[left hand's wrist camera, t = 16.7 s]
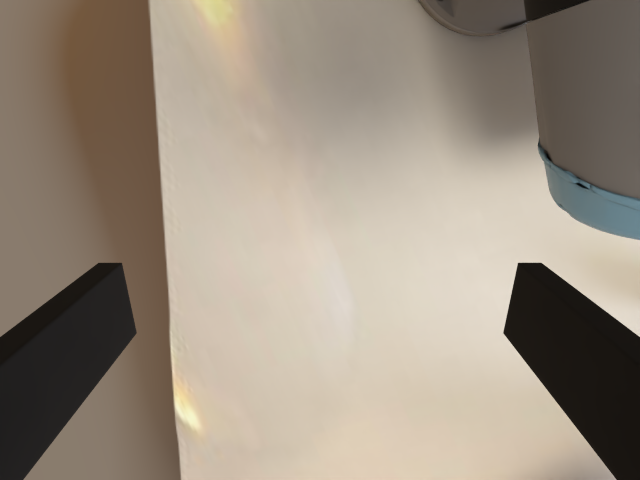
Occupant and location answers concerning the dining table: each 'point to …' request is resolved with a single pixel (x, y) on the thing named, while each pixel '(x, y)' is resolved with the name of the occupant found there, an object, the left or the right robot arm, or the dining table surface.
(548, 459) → the dining table surface
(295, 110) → the dining table surface
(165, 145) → the dining table surface
